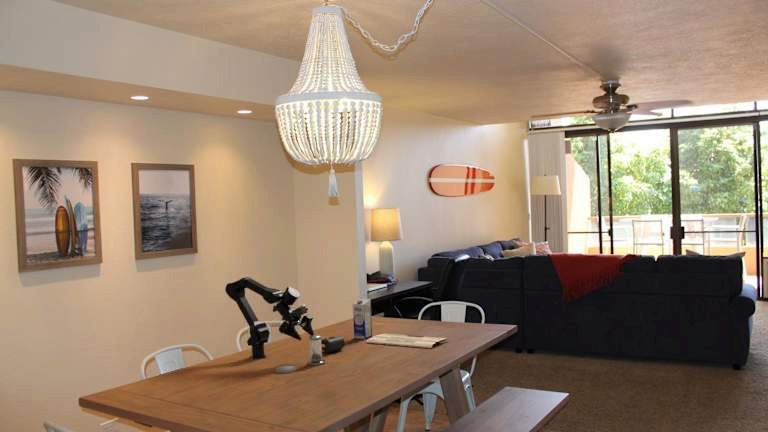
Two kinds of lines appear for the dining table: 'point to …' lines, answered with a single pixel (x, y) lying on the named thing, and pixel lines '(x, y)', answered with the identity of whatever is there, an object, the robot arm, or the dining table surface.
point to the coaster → (285, 369)
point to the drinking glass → (315, 346)
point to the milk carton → (362, 319)
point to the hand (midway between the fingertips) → (307, 337)
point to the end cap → (332, 344)
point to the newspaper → (406, 340)
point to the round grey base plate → (316, 361)
